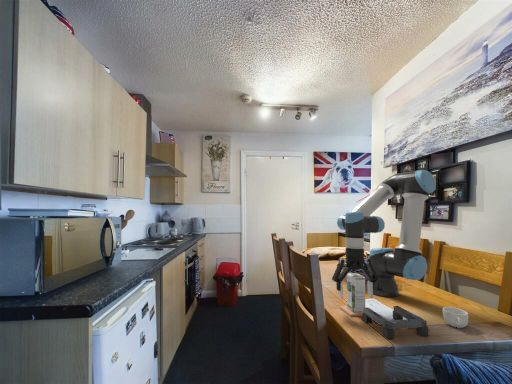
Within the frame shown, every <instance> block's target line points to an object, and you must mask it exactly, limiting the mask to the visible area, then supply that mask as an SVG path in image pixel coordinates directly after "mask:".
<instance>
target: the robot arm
mask: <svg viewBox="0 0 512 384" xmlns="http://www.w3.org/2000/svg"><path fill="white" fill-rule="evenodd" d="M436 183H437V182H436V180H435V177H434V175H433V174H432V173H431V172H430V171H428V170H426V169H425V170H424V169H422V170H421V169H420V170H413V171H405V172H399V173H395V174H393V175H391V176H389V177H387V178H386V179H384V180H383V181H382V182H380V183H379V184H378V185H377V187H376V189H375V190H374V191H372V193H371V194H370V195H369V196H367V197H366V198H365V199H364V200H363V201H362V202H360V203H359V204H358V205H357V206H356V207H355V208H354V209H352V210H351V211H347V212H345V214H343V215H340V216H338V218H337V219H336V220H337V221H336V223H337V226H338V228H339V229H340V230H341V231H342V230H343V231H345V232H344V233H345V234H344V236H345V239H344V240H345V246H346V247H345V258H338V264H337V266H336V269H335V271H334V273H333V275H332V277H331V280H332V281H333V282H335V283H336V286H335V287H336V290H337V292H338V295H337V296H338V298H339V299H340V300H344V283H343V281H344V279H345V278H347V274H349V273H350V272H351V271H352V270H353V271H355V270H361V272H362V273H363V274H364V275H365V278H367V279H368V280H367V281H366V282H367V283H366V284H367V285H366V291H367V297H369V298H371V299H374V295H375V296H379V297H385V298H386V297H387V298H389V297H390V298H393V297H394V298H395V297H398V296H400V289H399V288H398V284H397V282H396V279H395V277H398V278H403V279H405V280H411V281H418V280H419V281H420V280H421V279H423V277H425V275H426V274H427V273H426V272H427V270H428V262H427V259H426V257H424V256H423V252H422V250H421V249H420V243H421V235H422V226H423V217H424V208H425V207H424V206H425V201H426V200H428V199H429V196H430V194H432V193H434V192H435V190H436ZM399 195H401V196H402V197H403V199H404V201H403V209H402V219H401V226H400V231H399V241H398V245H396V246H395V247H394V248H392V247H375V248H371V249H370V250H369V257H365V249H364V247H365V234H377V233H382V232H383V231H384V229H385V220H384V219H383V218H382V217H380V216H376V215H372V214H373V213H375V211H376V210H378V208H380V207H381V206H382V205H383V204H384V203H385V202H386V201H387V200H391V199H392V198H394V197H396V196H399ZM364 264H366V265H365V266H366V267H367V268H366V267H365V266H364ZM367 269H368V270H367Z"/></svg>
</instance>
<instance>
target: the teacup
mask: <svg viewBox="0 0 512 384" xmlns="http://www.w3.org/2000/svg"><path fill="white" fill-rule="evenodd" d="M442 317H443V319H444V322H445V323H446V324H447V325H449V326H450V327H452V328H456V327H457V328H458V329H464V328H465V327H467V326H468V324H469V313H468V311H466V310H464V309H461V308H458V307H454V306H443V307H442Z"/></svg>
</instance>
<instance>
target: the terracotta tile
mask: <svg viewBox="0 0 512 384" xmlns="http://www.w3.org/2000/svg"><path fill="white" fill-rule="evenodd" d="M339 309H340V310H342V311H343V313H345V314H347V315H348V316H349V317H363V313H364V312H352V311H351V310H350V309H349V308H347V305H341V306H339Z"/></svg>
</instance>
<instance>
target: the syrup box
mask: <svg viewBox="0 0 512 384" xmlns="http://www.w3.org/2000/svg"><path fill="white" fill-rule="evenodd" d="M346 306H347V308H349V309H350V310H351V311H352V312H363V308H366V276H364V275H361V274H359V273H356V272H355V273H352V272H351V273H350V272H348V274H347V275H346Z"/></svg>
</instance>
